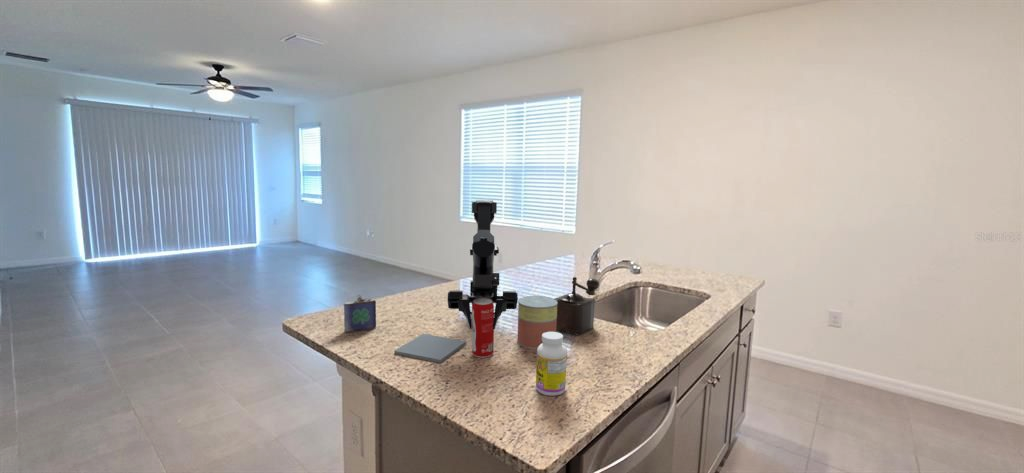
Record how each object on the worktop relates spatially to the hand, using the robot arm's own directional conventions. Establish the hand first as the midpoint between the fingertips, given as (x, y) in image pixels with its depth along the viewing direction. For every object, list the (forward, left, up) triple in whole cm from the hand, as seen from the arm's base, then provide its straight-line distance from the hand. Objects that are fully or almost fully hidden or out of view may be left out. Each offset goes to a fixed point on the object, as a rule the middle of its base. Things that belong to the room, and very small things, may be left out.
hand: (482, 328), depth 116 cm
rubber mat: (+7, -13, -8) cm, 17 cm away
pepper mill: (-36, +4, -8) cm, 37 cm away
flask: (+15, -39, -8) cm, 42 cm away
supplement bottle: (0, +24, -8) cm, 25 cm away
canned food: (-19, +2, -8) cm, 21 cm away
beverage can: (-1, -1, -8) cm, 8 cm away
